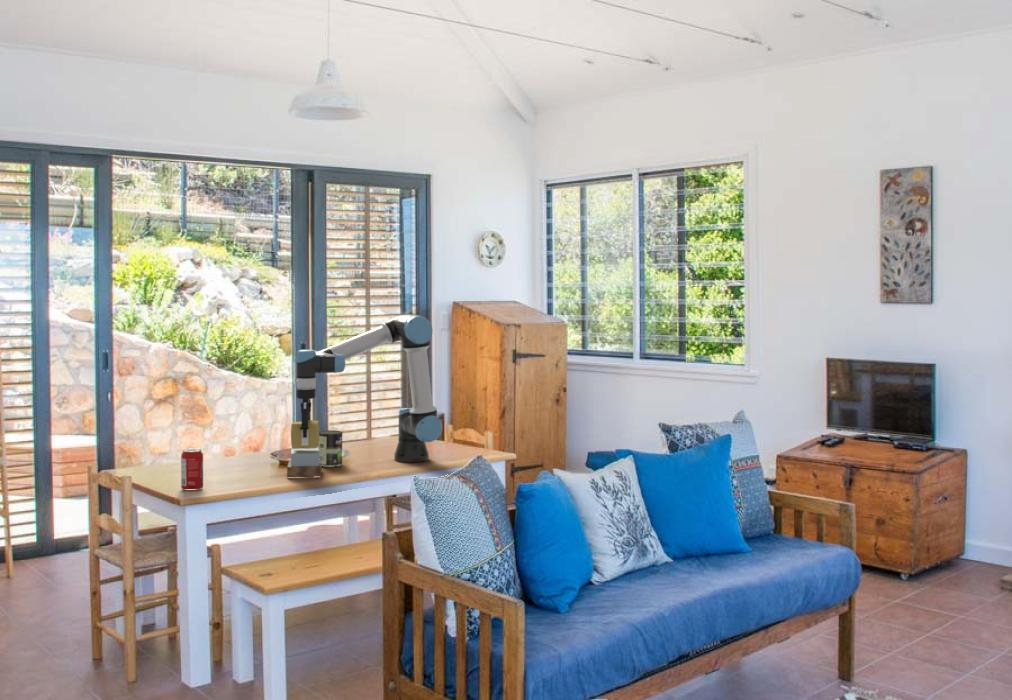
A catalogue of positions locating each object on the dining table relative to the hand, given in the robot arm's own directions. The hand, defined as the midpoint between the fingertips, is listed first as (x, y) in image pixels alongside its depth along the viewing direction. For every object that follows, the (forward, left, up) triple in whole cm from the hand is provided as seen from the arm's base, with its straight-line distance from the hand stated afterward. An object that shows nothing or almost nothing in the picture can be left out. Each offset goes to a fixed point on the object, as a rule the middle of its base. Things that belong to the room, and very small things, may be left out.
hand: (305, 443), depth 410 cm
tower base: (0, 0, -13) cm, 13 cm away
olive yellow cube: (0, 0, -2) cm, 2 cm away
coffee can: (-9, -20, -13) cm, 26 cm away
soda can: (+40, +26, -13) cm, 50 cm away
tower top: (0, 0, -8) cm, 8 cm away
